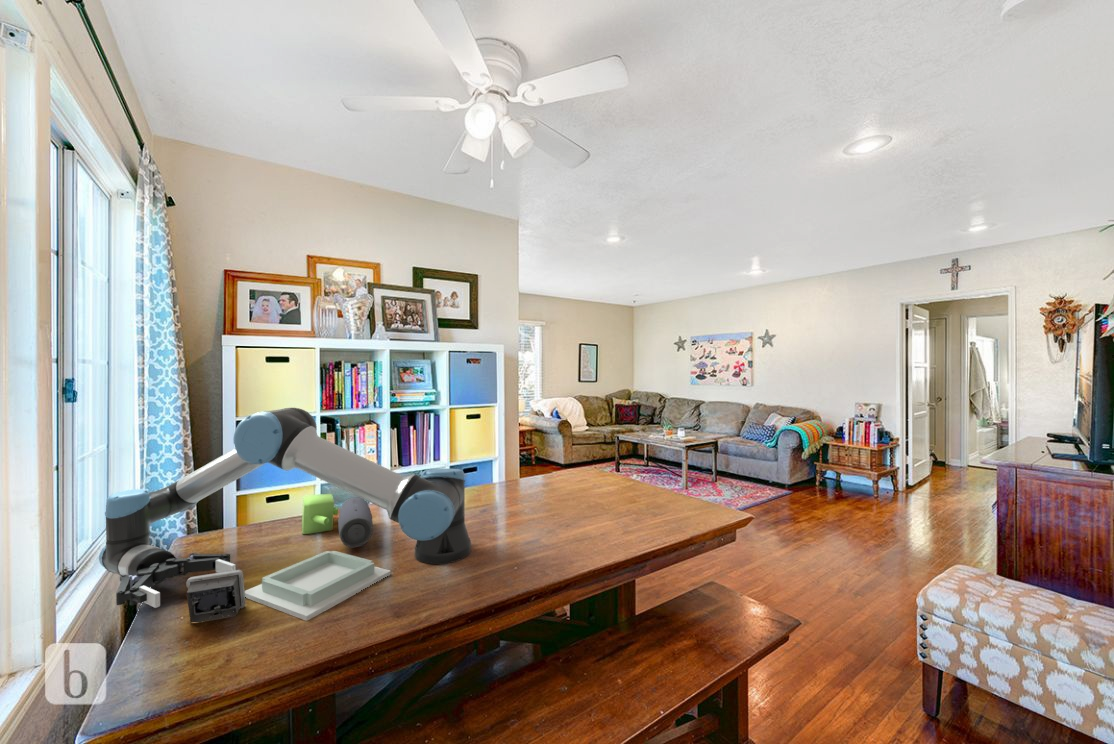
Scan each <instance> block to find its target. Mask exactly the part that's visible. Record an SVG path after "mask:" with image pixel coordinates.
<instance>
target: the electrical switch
mask: <svg viewBox="0 0 1114 744" xmlns="http://www.w3.org/2000/svg"><path fill="white" fill-rule="evenodd" d="M244 581H245V580H244V572H243V570H241V569H236V570H234V571H228V572H221V573H217V572H215V573H209V574H208V573H207V574H202V575H196V576H190V577H189V578H188V579H187V580H186V588H187V591H186V599H187V607H188V613H189V621H190V623H191V622H200V623H203V622H202V621H206V622H211V621H214V620H215V621H216V620H221V619H225V618H226V619H227V618H232V617H237V616H236V615H238V613H239V611H240V608H241V609H243V608H244V607H245V606H246V602H247V601H246V598H245V591H246V590H245V582H244Z"/></svg>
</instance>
